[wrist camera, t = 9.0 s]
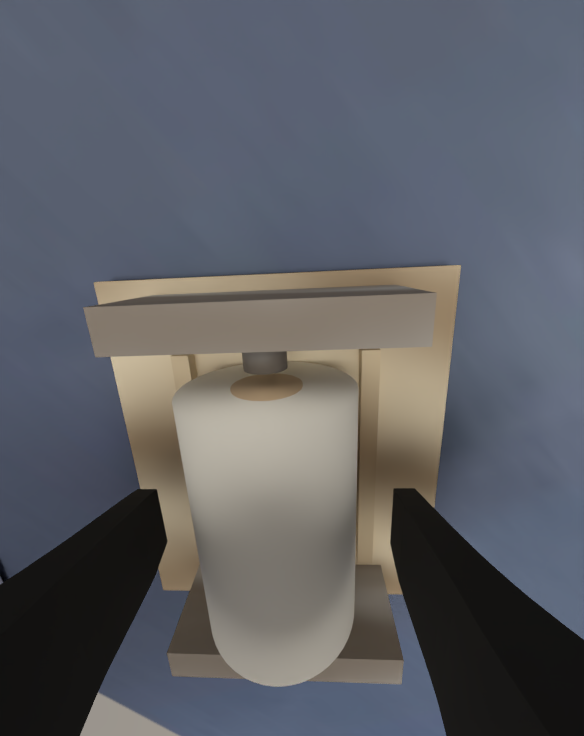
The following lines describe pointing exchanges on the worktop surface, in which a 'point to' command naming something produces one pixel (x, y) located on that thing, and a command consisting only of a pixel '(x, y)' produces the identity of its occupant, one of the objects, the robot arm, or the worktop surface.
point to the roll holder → (269, 356)
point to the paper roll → (274, 513)
